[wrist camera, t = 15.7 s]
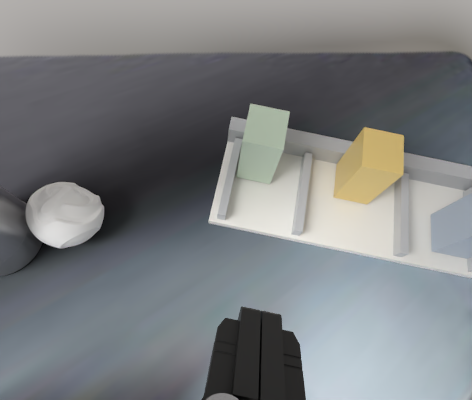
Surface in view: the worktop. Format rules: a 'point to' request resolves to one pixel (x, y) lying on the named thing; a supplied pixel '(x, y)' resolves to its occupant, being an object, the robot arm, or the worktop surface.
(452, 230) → the blue-grey block
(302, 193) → the white divided tray
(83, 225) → the crumpled paper ball
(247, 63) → the worktop surface
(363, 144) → the yellow rectangular block
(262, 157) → the pale green block
